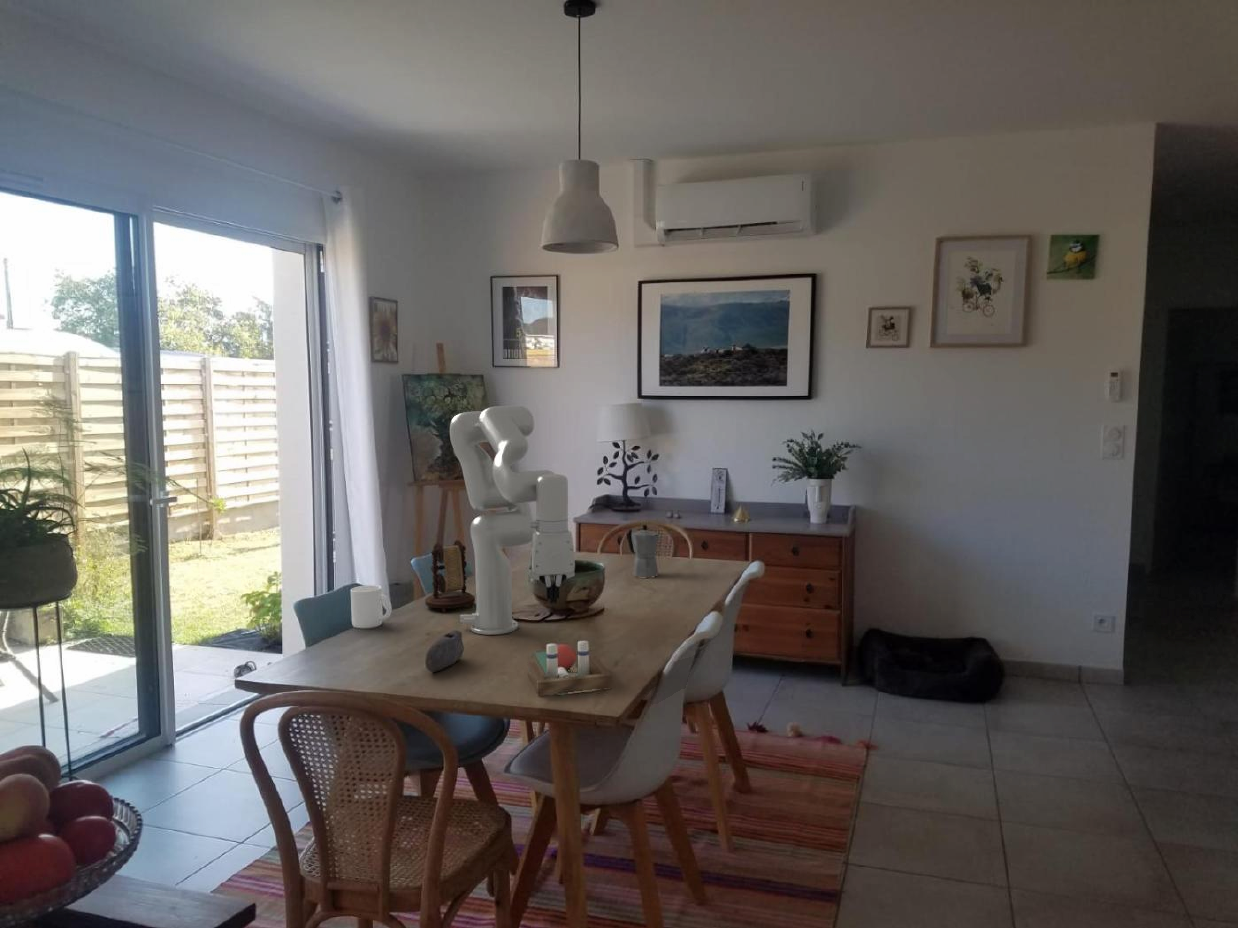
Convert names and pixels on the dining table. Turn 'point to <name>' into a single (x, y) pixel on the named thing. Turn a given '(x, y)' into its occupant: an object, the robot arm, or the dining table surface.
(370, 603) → the mug
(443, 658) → the perforated stone tool
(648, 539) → the coffeepot
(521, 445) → the robot arm
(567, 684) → the backstop
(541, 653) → the strip
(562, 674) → the pin front
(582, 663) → the pin right
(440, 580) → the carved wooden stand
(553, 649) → the pin left
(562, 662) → the ball
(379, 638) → the dining table surface
